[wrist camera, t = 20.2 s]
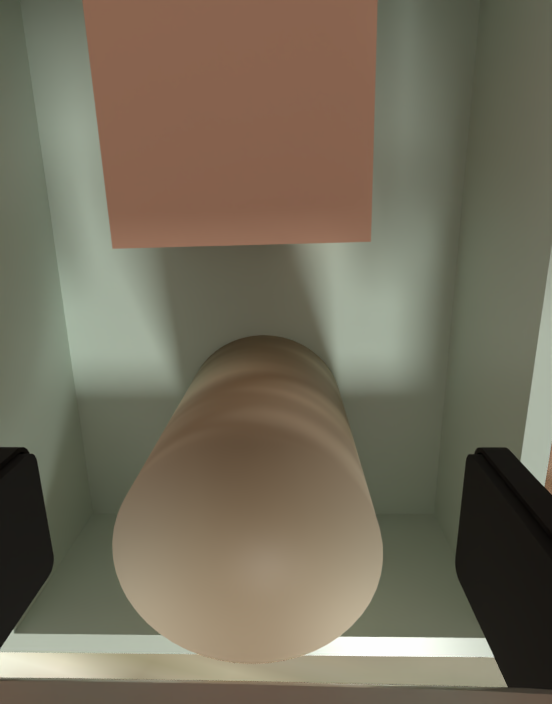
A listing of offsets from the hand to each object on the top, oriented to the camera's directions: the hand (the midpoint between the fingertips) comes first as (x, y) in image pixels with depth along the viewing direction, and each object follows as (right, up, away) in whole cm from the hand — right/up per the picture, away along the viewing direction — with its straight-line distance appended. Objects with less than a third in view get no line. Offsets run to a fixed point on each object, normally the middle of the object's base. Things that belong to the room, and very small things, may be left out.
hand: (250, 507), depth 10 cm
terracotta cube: (0, +9, +3) cm, 10 cm away
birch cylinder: (0, +2, +5) cm, 5 cm away
